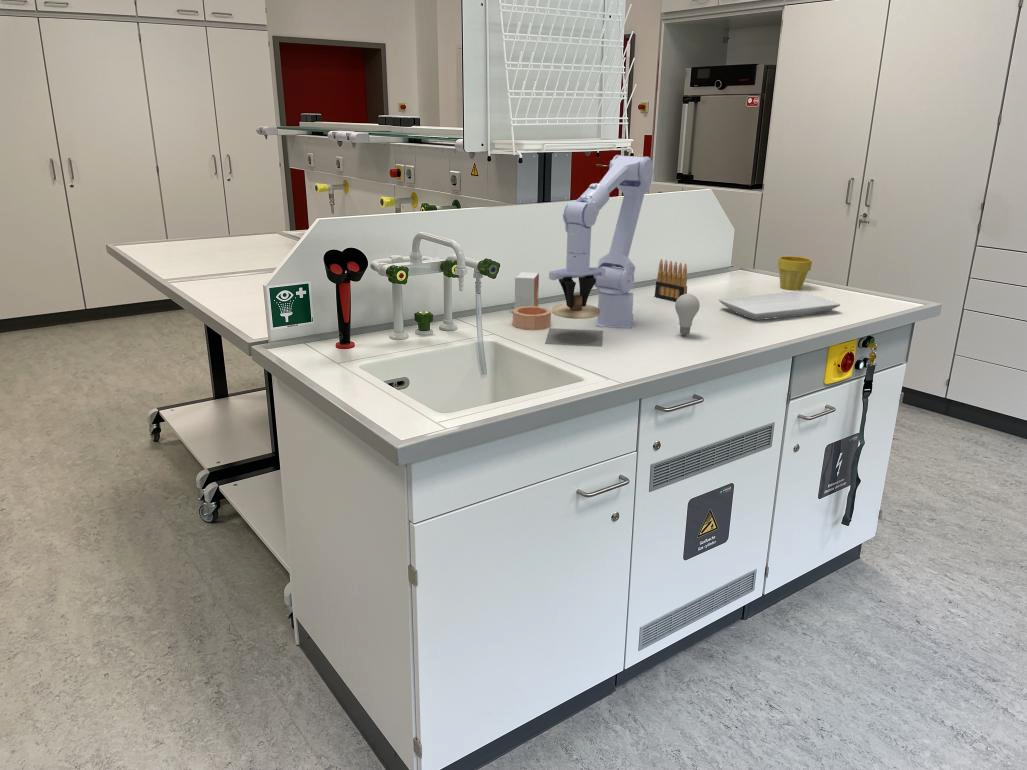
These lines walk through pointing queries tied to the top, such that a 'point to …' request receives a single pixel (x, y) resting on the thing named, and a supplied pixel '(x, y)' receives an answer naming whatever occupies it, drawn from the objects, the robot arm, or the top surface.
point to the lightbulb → (686, 311)
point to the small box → (526, 289)
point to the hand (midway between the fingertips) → (576, 306)
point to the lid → (576, 309)
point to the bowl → (531, 317)
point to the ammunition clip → (671, 281)
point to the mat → (574, 337)
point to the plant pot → (793, 271)
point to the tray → (778, 304)
